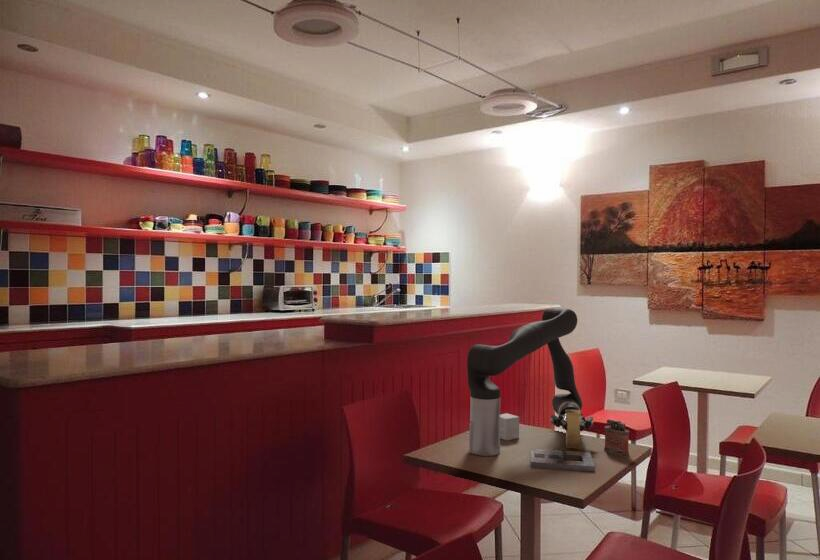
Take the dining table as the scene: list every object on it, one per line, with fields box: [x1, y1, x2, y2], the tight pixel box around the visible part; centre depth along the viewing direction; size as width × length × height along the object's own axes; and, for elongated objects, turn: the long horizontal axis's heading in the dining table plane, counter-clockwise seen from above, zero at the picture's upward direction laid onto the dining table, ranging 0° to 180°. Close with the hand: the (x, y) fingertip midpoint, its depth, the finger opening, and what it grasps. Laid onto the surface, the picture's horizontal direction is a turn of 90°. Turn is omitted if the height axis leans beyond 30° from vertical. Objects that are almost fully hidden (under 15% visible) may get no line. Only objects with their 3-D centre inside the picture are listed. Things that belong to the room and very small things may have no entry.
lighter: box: [603, 419, 630, 457], centre depth 177 cm, size 8×3×10 cm, turn 37°
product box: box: [500, 413, 520, 441], centre depth 194 cm, size 6×6×7 cm
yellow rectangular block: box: [565, 409, 582, 449], centre depth 180 cm, size 4×4×11 cm
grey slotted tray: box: [530, 448, 596, 473], centre depth 168 cm, size 18×13×2 cm
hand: (573, 427), depth 177 cm, fingers closed on yellow rectangular block, 4 cm apart
